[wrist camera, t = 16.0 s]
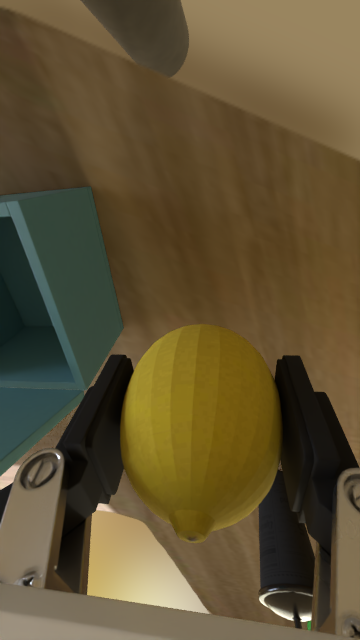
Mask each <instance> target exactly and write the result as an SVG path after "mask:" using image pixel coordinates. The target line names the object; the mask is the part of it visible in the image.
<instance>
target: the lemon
mask: <svg viewBox="0 0 360 640" xmlns="http://www.w3.org/2000/svg"><path fill="white" fill-rule="evenodd" d="M282 442H283V423H282V412H281V404H280V398H279V393H278V389H277V385H276V383H275V380H274V378H273V376H272V374H271V372H270V370H269V368H268V366H267V364H266V363H265V361H264V359H263V357H262V356H261V355H260V353H259V352H258V351H257V350H256V349H255V348H254V347H253V346H252V345H251V344H250V343H249V342H248V341H247V340H246V339H244V338H243V337H241V336H240V335H238V334H236V333H235V332H233V331H231V330H229V329H226V328H223V327H220V326H217V325H208V324H196V325H187V326H184V327H181V328H179V329H176V330H173V331H171V332H169V333H168V334H166V335H165V336H163V337H162V338H160V339H159V340H157V341H156V342H155V343H154V344H153V345H152V346H151V347H150V348H149V350H148V351H147V352H146V353H145V354H144V355H143V357H142V358H141V359H140V361H139V362H138V364H137V366H136V368H135V370H134V372H133V374H132V377H131V379H130V382H129V385H128V387H127V390H126V393H125V397H124V401H123V406H122V412H121V423H120V447H121V457H122V461H123V465H124V469H125V471H126V474H127V476H128V478H129V481H130V483H131V485H132V487H133V489H134V490H135V492H136V493H137V495H138V496H139V498H140V499H141V500H142V501H143V502H144V504H145V505H146V506H147V507H148V508H149V509H150V510H151V511H152V512H153V513H154V514H156V515H157V516H158V517H160V518H161V519H163V520H164V521H166V522H167V523H169V524H171V525H172V526H173V528H174V530H175V532H176V534H177V536H178V537H179V538H180V539H181V540H183V541H186V542H190V543H200V542H203V541H204V540H205V539H206V538H207V537H208V535H209V534H210V533H211V532H212V531H215V530H218V529H222V528H225V527H228V526H231V525H233V524H235V523H237V522H238V521H240V520H241V519H243V518H245V517H246V516H248V515H249V514H250V513H251V512H252V511H253V510H254V509H255V508H256V507H257V506H258V505H259V504H260V503H261V501H262V500H263V499H264V498H265V496H266V495H267V494H268V492H269V491H270V488H271V486H272V484H273V482H274V479H275V476H276V473H277V470H278V466H279V463H280V459H281V452H282Z"/></svg>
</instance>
